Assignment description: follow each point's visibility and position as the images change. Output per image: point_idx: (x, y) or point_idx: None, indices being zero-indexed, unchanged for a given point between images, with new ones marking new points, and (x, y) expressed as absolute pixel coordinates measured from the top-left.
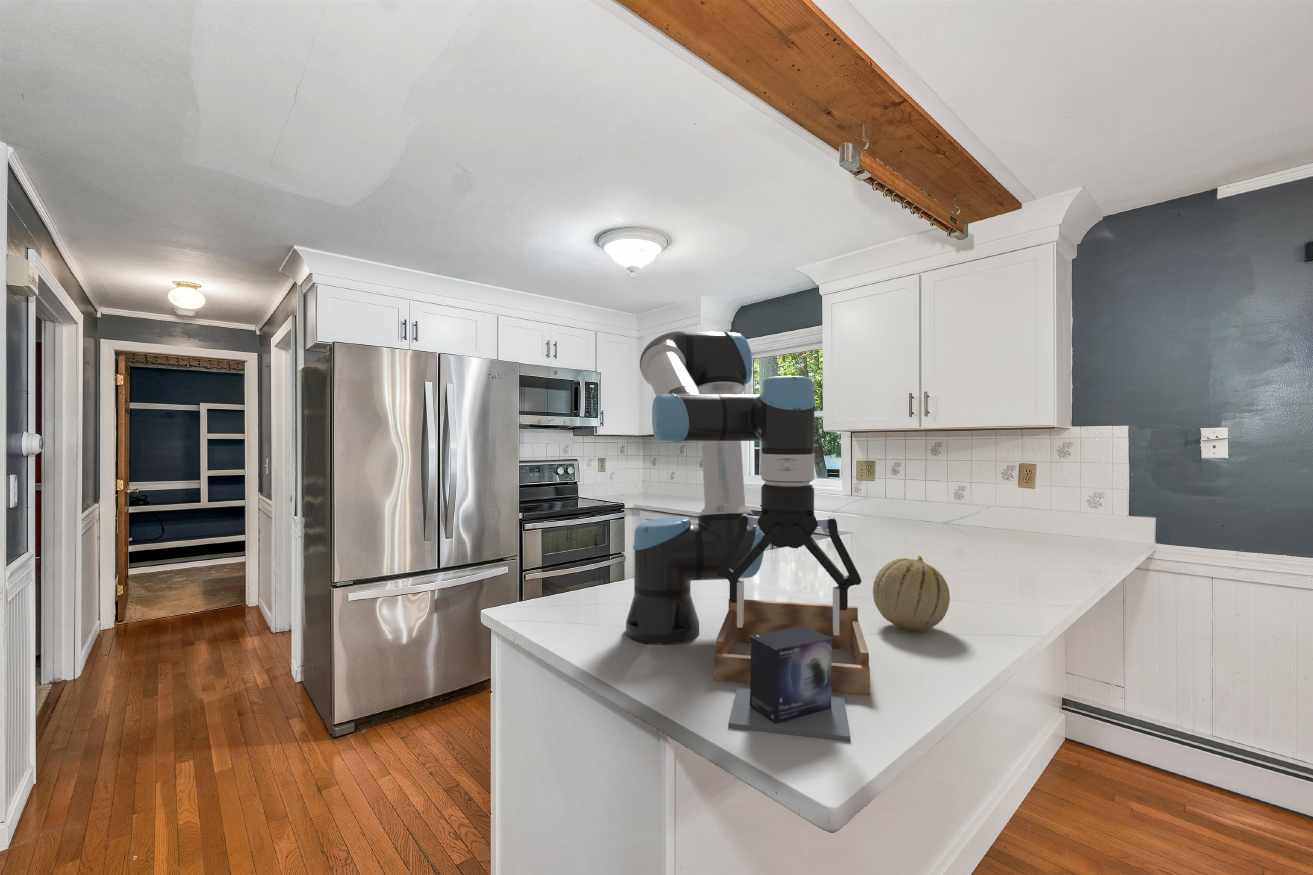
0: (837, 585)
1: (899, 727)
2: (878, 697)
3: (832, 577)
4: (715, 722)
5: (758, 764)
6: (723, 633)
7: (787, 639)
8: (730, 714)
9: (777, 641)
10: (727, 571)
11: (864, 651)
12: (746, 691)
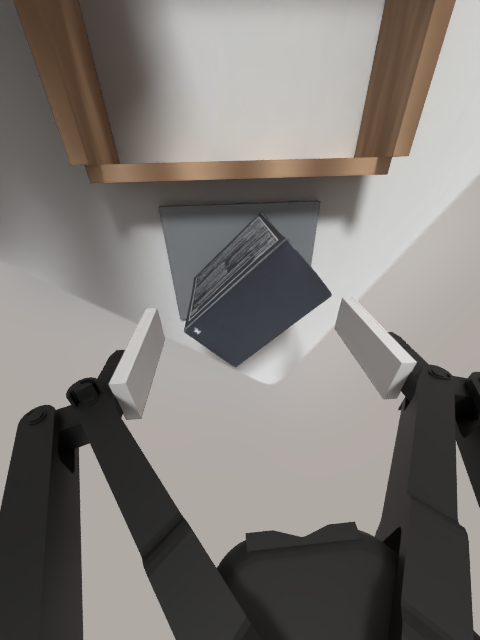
0: (409, 370)
1: (363, 268)
2: (372, 181)
3: (400, 424)
4: (164, 310)
5: (221, 361)
6: (56, 84)
7: (250, 332)
8: (177, 302)
9: (234, 343)
10: (77, 444)
11: (403, 145)
12: (178, 232)
